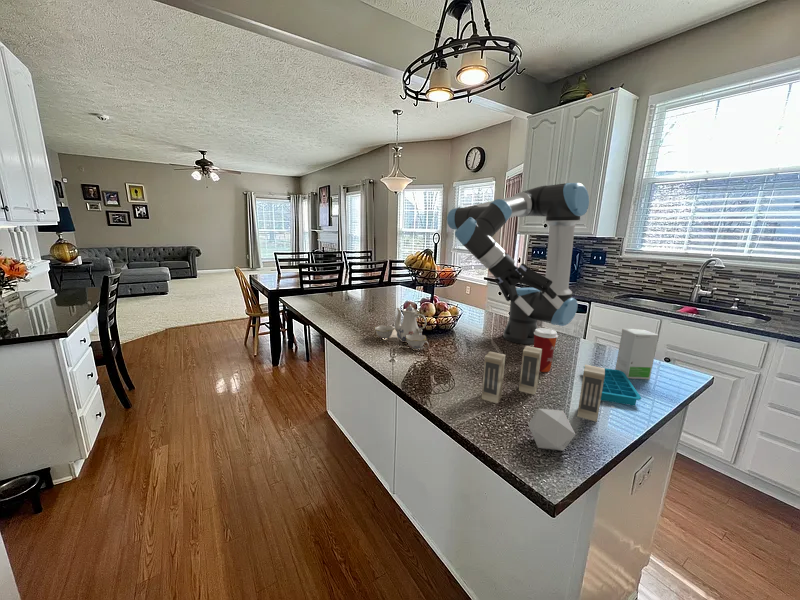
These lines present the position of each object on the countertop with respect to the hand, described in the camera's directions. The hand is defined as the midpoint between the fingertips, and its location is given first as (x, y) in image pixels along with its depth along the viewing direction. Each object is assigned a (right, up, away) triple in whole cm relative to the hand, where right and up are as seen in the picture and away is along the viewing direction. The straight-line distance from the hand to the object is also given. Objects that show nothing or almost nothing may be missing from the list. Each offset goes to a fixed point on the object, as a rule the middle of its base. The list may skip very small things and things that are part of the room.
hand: (544, 309), depth 101 cm
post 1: (-18, -25, -6) cm, 32 cm away
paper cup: (+5, -21, +14) cm, 26 cm away
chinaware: (-43, -15, +39) cm, 60 cm away
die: (-11, -30, -27) cm, 42 cm away
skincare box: (+34, -23, +11) cm, 43 cm away
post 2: (-6, -24, -1) cm, 25 cm away
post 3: (+5, -27, -14) cm, 31 cm away
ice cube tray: (+20, -25, +1) cm, 32 cm away
